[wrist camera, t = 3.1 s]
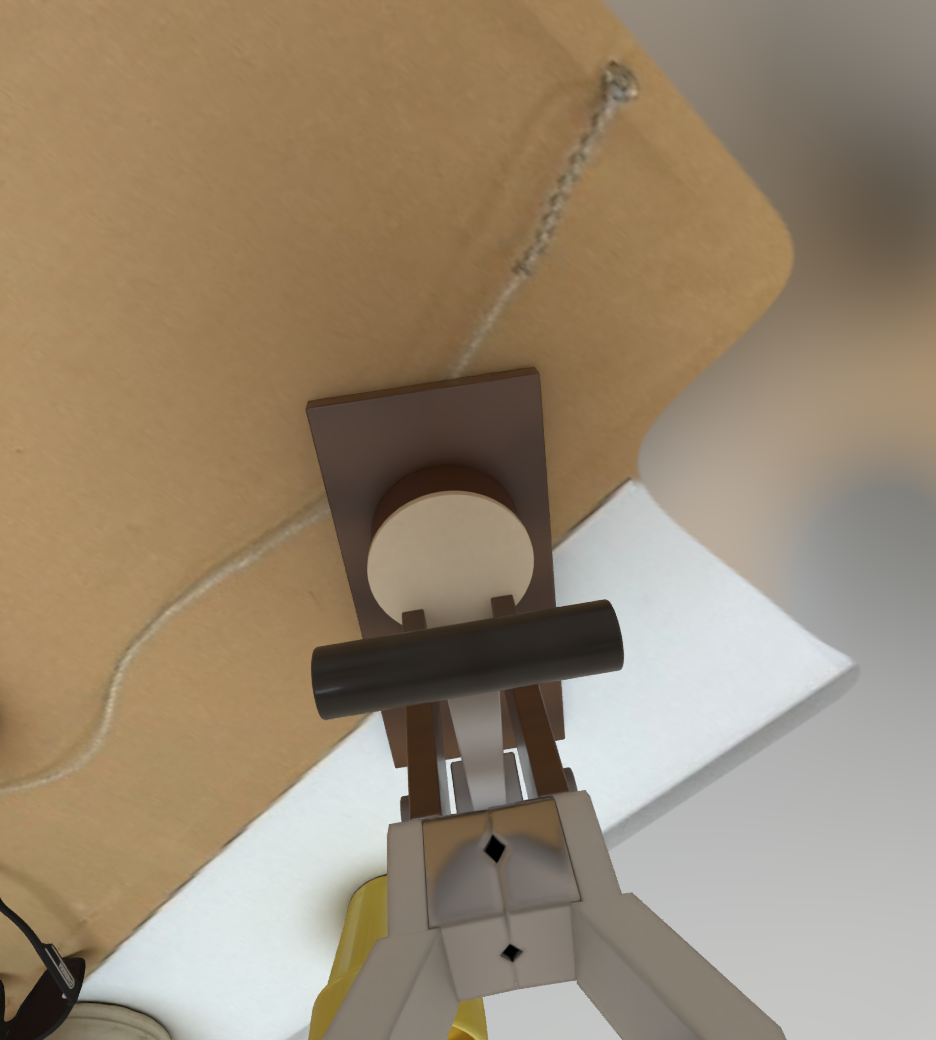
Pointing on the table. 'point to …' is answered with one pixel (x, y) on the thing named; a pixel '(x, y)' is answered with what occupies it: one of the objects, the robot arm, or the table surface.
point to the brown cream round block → (447, 547)
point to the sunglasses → (43, 991)
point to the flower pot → (353, 949)
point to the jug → (107, 1024)
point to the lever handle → (469, 680)
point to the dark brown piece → (424, 727)
